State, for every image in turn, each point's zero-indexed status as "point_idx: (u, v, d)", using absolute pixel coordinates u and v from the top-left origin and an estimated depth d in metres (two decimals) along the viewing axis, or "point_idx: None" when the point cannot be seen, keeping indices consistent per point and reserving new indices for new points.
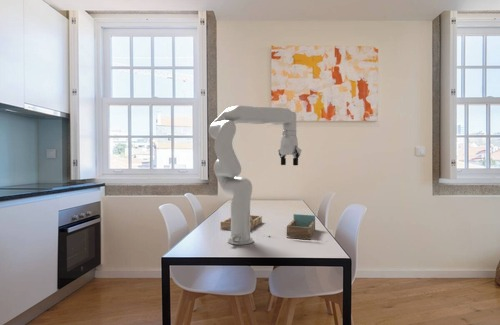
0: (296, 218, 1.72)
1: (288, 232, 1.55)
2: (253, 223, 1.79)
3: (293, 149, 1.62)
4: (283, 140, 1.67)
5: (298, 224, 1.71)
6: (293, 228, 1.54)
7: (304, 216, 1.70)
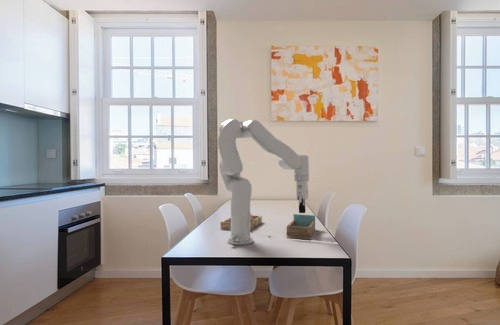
0: (296, 218, 1.72)
1: (288, 232, 1.55)
2: (253, 223, 1.79)
3: None
4: (306, 185, 1.58)
5: (298, 224, 1.71)
6: (293, 228, 1.54)
7: (304, 216, 1.70)
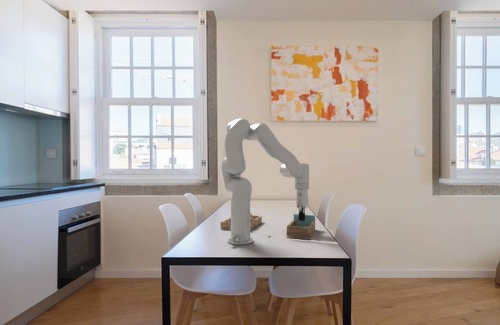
0: (296, 218, 1.72)
1: (288, 232, 1.55)
2: (253, 223, 1.79)
3: None
4: (306, 193, 1.60)
5: (298, 224, 1.71)
6: (293, 228, 1.54)
7: None
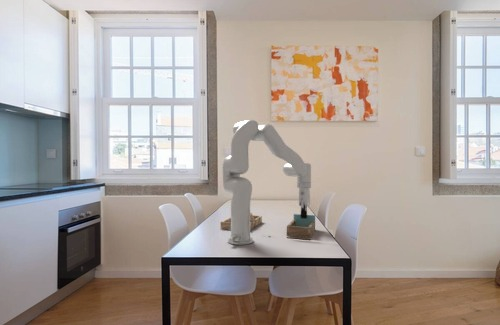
0: (296, 218, 1.72)
1: (288, 232, 1.55)
2: (253, 223, 1.79)
3: None
4: (308, 192, 1.66)
5: (298, 224, 1.71)
6: (293, 228, 1.54)
7: None
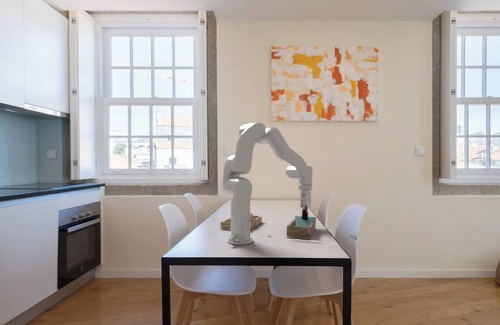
0: (297, 219, 1.75)
1: (288, 232, 1.55)
2: (253, 223, 1.79)
3: None
4: (309, 194, 1.71)
5: (298, 224, 1.73)
6: (293, 228, 1.54)
7: None
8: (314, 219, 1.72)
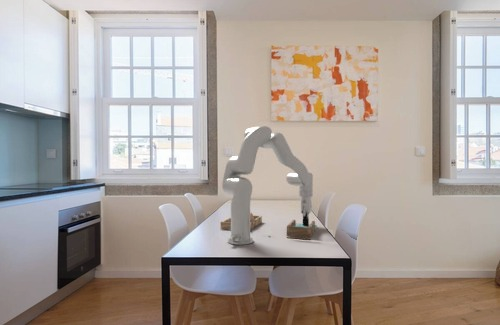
0: (298, 225, 1.77)
1: (288, 232, 1.55)
2: (253, 223, 1.79)
3: None
4: (310, 200, 1.73)
5: None
6: (293, 228, 1.54)
7: None
8: None
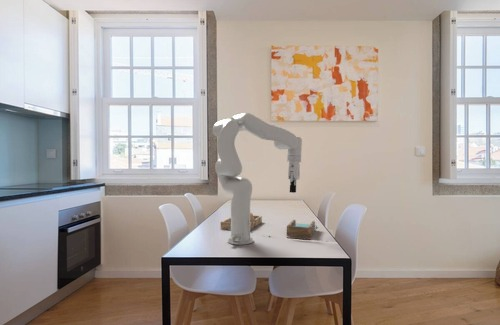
0: (298, 225, 1.77)
1: (288, 232, 1.55)
2: (253, 223, 1.79)
3: None
4: (298, 165, 1.65)
5: None
6: (293, 228, 1.54)
7: (306, 224, 1.77)
8: None
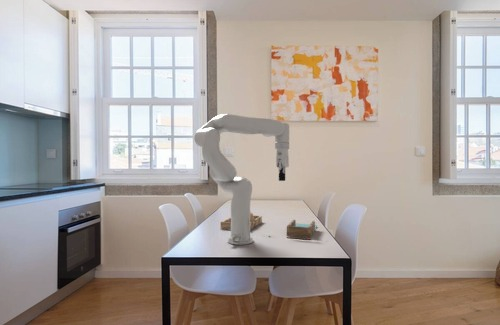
0: (298, 225, 1.77)
1: (288, 232, 1.55)
2: (253, 223, 1.79)
3: None
4: (286, 152, 1.59)
5: None
6: (293, 228, 1.54)
7: (306, 224, 1.77)
8: None
